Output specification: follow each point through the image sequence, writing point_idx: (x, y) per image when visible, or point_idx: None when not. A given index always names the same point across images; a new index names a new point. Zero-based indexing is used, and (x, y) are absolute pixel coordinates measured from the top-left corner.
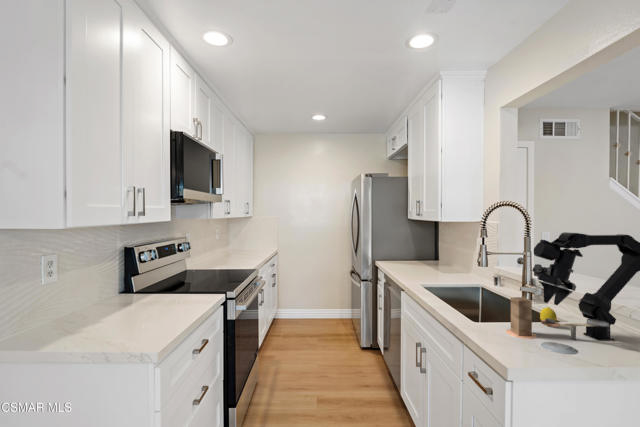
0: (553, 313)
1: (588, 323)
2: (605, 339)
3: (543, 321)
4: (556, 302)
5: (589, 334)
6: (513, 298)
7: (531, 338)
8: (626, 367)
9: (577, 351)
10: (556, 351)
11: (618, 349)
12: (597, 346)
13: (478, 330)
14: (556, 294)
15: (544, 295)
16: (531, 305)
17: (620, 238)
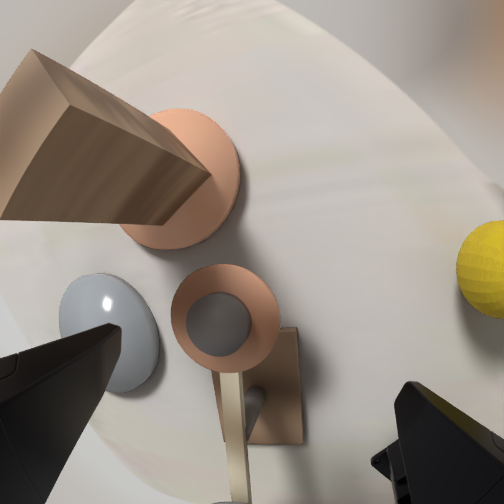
0: (497, 310)
1: (248, 500)
2: (386, 477)
3: (212, 280)
4: (409, 411)
5: (398, 442)
6: (7, 83)
7: (128, 231)
8: (135, 475)
9: (112, 390)
10: (64, 326)
11: (297, 498)
12: (282, 456)
13: (147, 36)
14: (471, 458)
15: (47, 352)
16: (33, 219)
17: None
